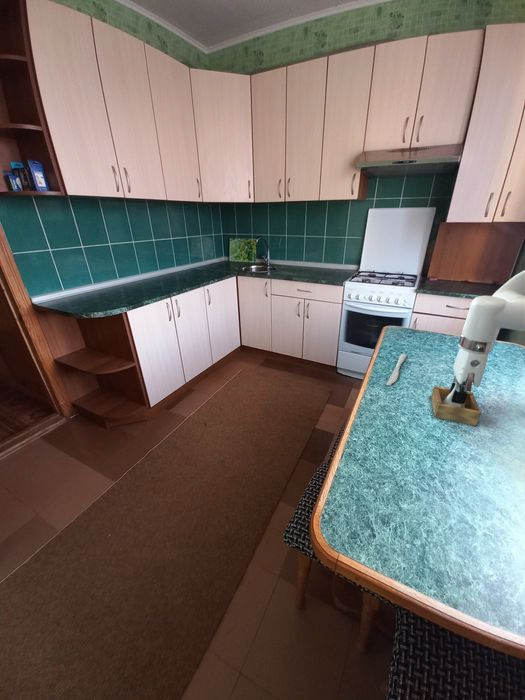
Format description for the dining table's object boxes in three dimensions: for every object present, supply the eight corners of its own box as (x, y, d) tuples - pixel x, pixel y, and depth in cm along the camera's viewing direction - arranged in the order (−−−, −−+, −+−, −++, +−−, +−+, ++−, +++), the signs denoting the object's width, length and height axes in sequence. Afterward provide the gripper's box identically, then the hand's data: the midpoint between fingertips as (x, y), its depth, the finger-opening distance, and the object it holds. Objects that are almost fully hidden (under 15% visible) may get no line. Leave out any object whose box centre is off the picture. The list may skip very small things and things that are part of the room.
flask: (463, 422, 83) (474, 393, 79) (435, 411, 88) (444, 383, 83) (468, 409, 88) (479, 382, 83) (441, 400, 92) (450, 373, 88)
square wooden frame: (468, 404, 90) (472, 392, 88) (476, 425, 82) (481, 413, 80) (430, 397, 94) (434, 385, 92) (434, 417, 85) (438, 405, 83)
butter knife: (409, 354, 118) (401, 352, 120) (392, 386, 99) (384, 383, 100) (409, 356, 118) (401, 353, 120) (392, 388, 99) (383, 385, 101)
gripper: (502, 359, 69) (477, 419, 78) (484, 333, 83) (465, 386, 91) (465, 354, 72) (445, 412, 80) (454, 329, 85) (438, 381, 94)
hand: (456, 398), depth 86 cm, fingers closed on flask, 3 cm apart
